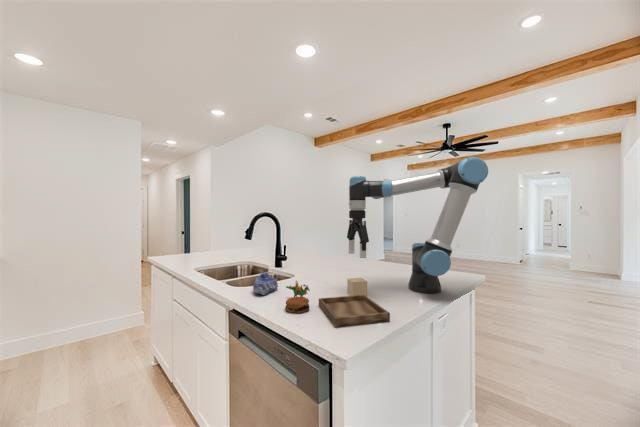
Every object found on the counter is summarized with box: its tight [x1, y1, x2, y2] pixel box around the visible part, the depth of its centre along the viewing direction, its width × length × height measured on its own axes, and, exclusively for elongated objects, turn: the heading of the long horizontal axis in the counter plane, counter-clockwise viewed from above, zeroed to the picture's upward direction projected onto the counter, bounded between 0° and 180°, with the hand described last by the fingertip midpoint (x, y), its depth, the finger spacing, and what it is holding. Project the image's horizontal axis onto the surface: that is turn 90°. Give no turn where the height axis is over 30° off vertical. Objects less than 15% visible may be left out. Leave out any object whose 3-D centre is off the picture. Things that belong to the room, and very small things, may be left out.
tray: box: [318, 295, 391, 329], centre depth 103 cm, size 20×22×3 cm
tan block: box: [346, 277, 368, 297], centre depth 126 cm, size 7×7×7 cm
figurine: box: [285, 280, 310, 297], centre depth 120 cm, size 3×12×8 cm, turn 69°
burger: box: [285, 296, 310, 314], centre depth 106 cm, size 10×9×5 cm
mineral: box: [252, 271, 279, 296], centre depth 130 cm, size 14×10×10 cm
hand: (356, 255), depth 126 cm, fingers open, 13 cm apart
